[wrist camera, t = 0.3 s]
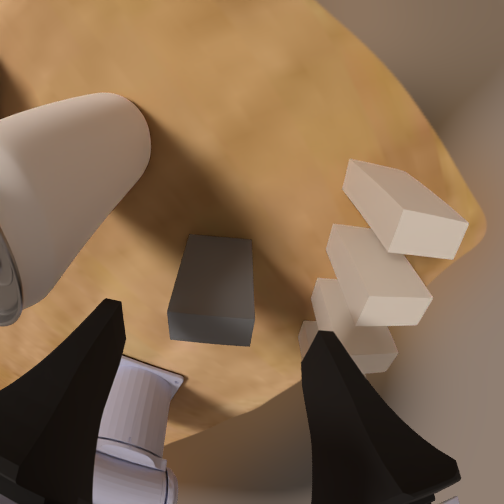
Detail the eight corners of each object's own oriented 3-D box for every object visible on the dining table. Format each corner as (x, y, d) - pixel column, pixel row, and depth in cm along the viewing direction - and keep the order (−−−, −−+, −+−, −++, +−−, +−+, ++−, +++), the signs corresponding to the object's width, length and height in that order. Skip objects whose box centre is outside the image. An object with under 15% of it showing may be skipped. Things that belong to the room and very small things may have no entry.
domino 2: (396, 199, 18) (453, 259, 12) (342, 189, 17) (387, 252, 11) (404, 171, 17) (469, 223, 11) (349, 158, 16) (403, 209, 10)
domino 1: (248, 265, 20) (249, 346, 14) (189, 259, 20) (170, 339, 14) (251, 239, 19) (254, 319, 13) (189, 234, 19) (167, 311, 13)
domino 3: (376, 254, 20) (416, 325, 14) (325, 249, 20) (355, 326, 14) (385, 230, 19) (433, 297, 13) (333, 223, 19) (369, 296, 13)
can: (151, 197, 17) (60, 356, 7) (64, 189, 17) (-53, 311, 7) (158, 91, 14) (1, 140, 4) (62, 94, 13) (-102, 159, 3)
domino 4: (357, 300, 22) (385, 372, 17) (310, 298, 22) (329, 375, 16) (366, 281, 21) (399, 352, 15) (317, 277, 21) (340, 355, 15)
